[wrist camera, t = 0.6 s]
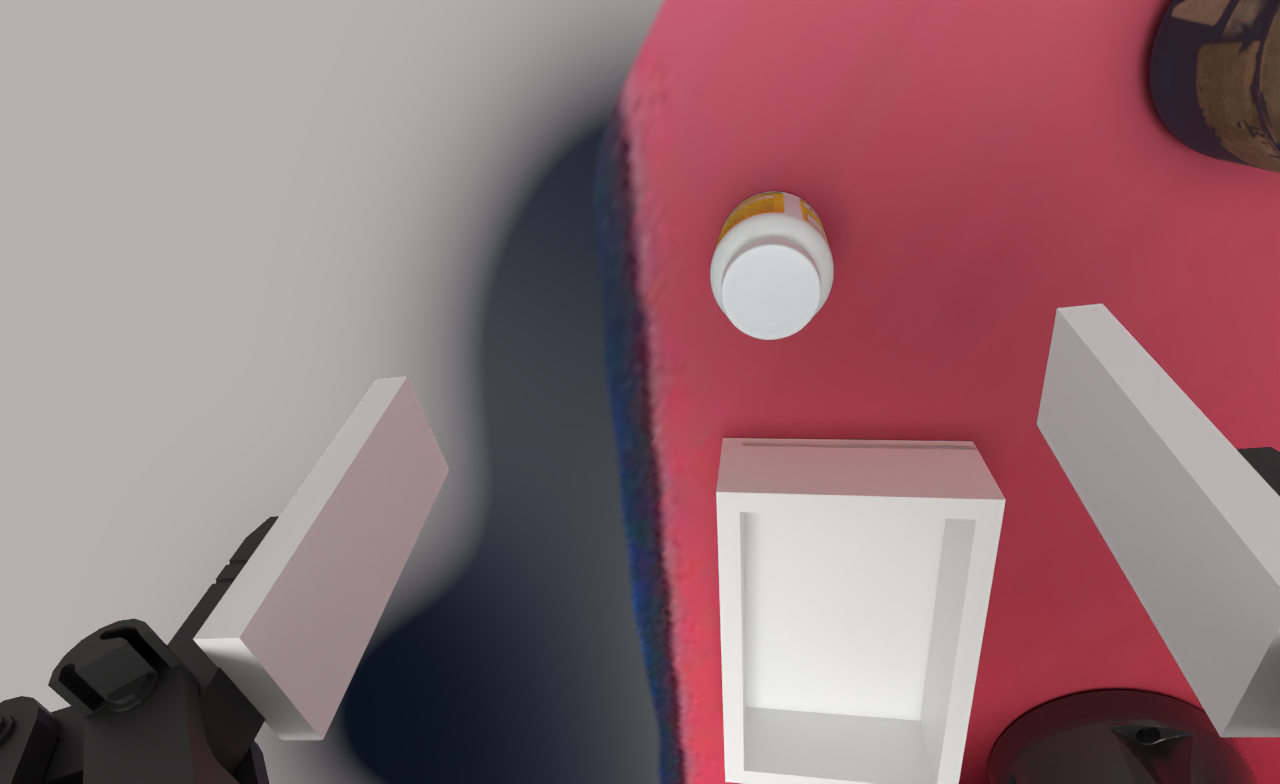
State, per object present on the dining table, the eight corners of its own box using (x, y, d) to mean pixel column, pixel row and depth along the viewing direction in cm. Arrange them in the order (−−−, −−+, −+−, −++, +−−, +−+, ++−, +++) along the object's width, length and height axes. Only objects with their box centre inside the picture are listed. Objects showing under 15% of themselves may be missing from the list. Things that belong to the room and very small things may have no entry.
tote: (722, 437, 42) (716, 492, 36) (972, 441, 39) (1005, 499, 34) (729, 706, 51) (725, 781, 45) (934, 722, 48) (955, 804, 43)
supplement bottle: (841, 210, 35) (865, 255, 27) (798, 305, 38) (807, 374, 29) (741, 174, 36) (733, 207, 27) (704, 271, 38) (686, 330, 29)
